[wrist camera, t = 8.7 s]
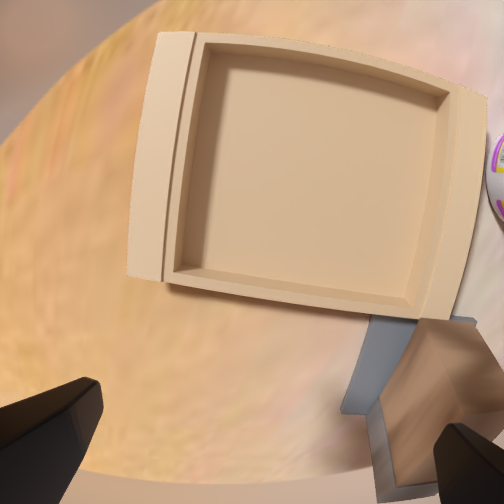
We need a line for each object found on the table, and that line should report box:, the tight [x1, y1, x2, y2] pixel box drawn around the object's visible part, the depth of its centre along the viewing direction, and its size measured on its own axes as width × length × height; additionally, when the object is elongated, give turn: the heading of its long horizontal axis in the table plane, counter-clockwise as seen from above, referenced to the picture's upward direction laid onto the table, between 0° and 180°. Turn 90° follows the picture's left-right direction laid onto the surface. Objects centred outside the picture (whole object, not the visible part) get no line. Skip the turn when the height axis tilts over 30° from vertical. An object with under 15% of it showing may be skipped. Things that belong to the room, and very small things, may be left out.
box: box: [365, 317, 504, 503], centre depth 14 cm, size 4×9×7 cm, turn 172°
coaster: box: [340, 314, 477, 415], centre depth 19 cm, size 8×8×1 cm
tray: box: [127, 31, 487, 320], centre depth 16 cm, size 18×13×2 cm
